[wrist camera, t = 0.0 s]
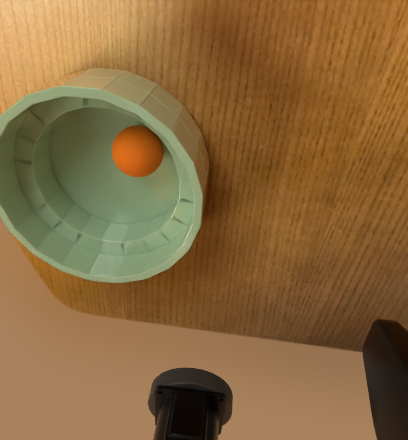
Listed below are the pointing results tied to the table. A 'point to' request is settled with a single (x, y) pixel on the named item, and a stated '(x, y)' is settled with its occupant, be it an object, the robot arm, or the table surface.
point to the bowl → (101, 177)
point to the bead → (137, 151)
